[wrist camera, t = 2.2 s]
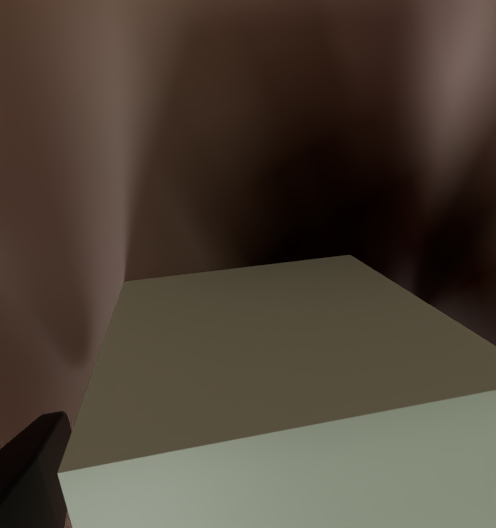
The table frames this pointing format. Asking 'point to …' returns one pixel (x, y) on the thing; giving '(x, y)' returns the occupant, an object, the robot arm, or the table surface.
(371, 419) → the sage cube
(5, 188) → the table surface
